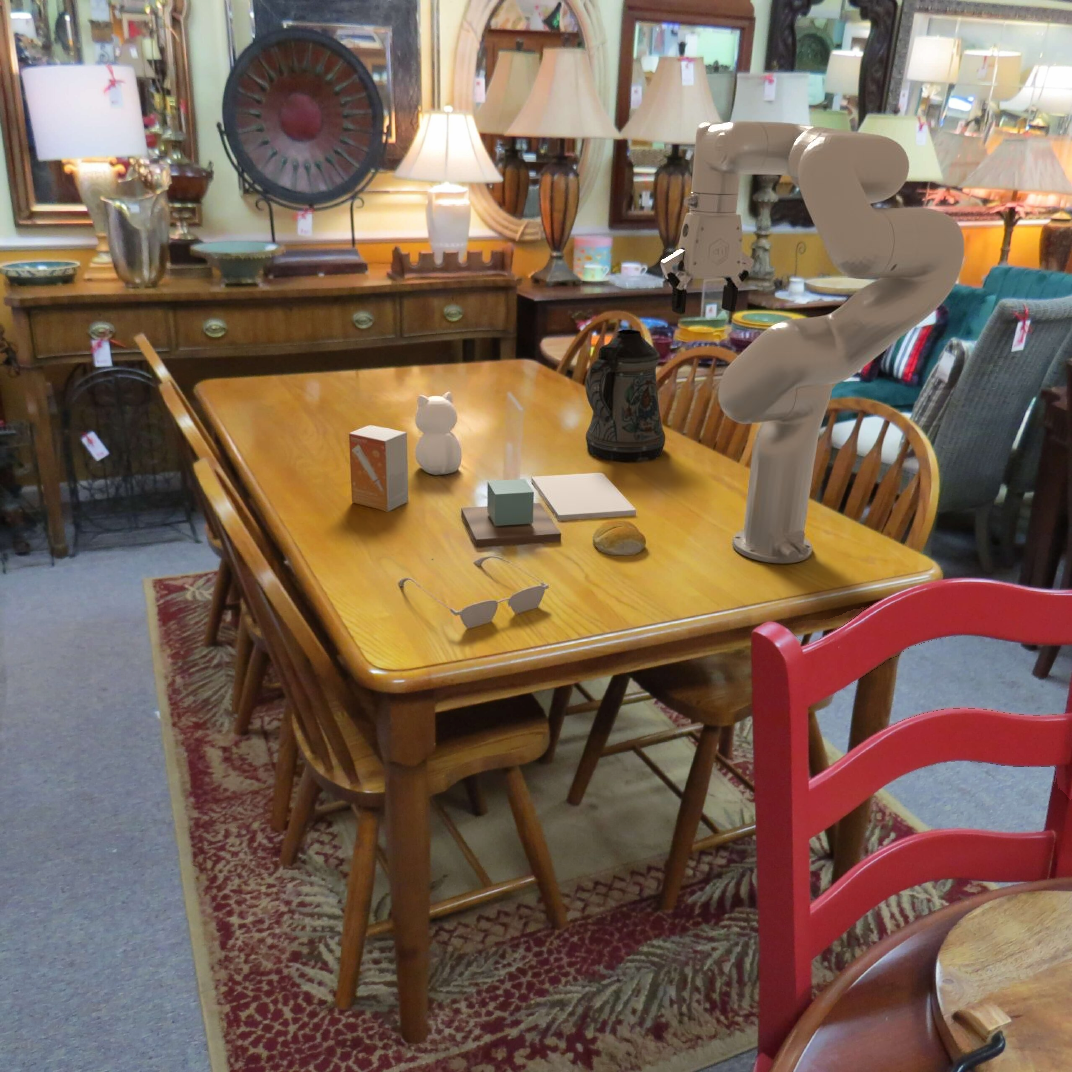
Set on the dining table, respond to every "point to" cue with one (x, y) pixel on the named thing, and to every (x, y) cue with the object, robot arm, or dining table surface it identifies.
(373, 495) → the small box
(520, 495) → the cube
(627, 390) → the beer stein
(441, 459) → the cat figurine
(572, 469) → the dining table surface
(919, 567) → the dining table surface
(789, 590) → the dining table surface
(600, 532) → the bread roll
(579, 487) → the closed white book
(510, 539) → the post stand
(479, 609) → the eyeglasses
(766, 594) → the dining table surface
